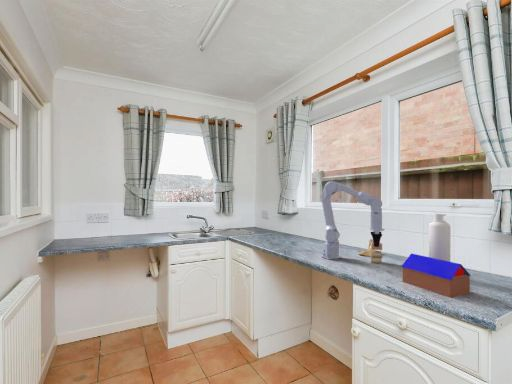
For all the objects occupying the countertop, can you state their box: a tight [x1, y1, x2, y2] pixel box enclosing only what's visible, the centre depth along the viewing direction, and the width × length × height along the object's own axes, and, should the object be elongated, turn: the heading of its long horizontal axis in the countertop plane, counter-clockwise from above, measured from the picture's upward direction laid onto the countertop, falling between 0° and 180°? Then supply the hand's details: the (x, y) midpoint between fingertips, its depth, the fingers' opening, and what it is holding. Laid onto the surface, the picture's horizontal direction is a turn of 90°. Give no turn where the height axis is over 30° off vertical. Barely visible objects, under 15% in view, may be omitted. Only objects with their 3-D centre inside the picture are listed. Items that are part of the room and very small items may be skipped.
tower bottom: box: [370, 257, 382, 265], centre depth 151 cm, size 5×5×3 cm
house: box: [401, 253, 472, 299], centre depth 110 cm, size 12×20×12 cm, turn 23°
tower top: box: [370, 250, 382, 260], centre depth 151 cm, size 5×5×3 cm
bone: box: [357, 238, 377, 258], centre depth 171 cm, size 10×10×15 cm
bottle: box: [428, 213, 451, 262], centre depth 125 cm, size 8×8×28 cm
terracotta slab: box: [372, 242, 383, 251], centre depth 151 cm, size 5×5×3 cm
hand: (376, 245), depth 151 cm, fingers closed on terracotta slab, 5 cm apart
